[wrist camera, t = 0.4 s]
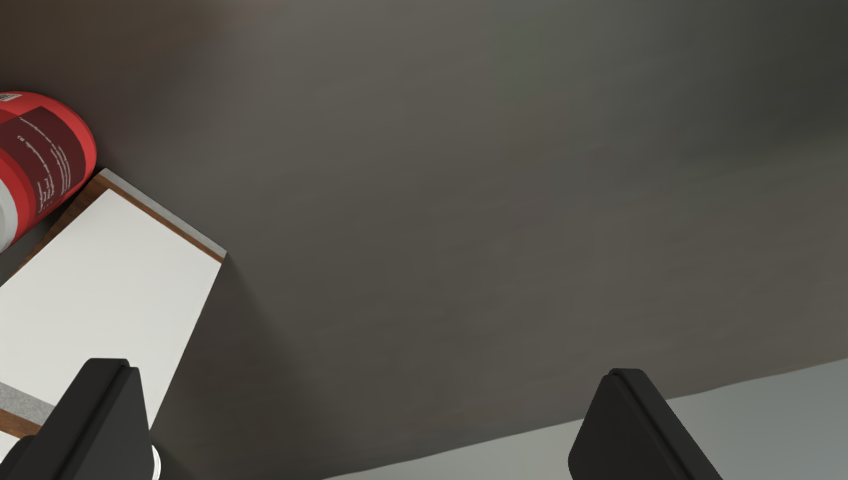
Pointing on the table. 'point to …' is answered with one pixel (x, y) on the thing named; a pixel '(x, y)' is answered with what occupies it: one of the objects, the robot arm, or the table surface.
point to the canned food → (39, 160)
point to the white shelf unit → (100, 301)
